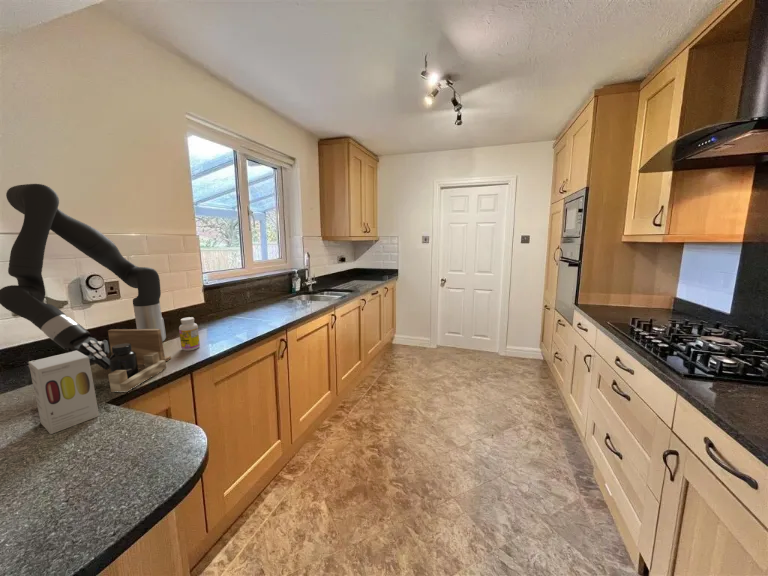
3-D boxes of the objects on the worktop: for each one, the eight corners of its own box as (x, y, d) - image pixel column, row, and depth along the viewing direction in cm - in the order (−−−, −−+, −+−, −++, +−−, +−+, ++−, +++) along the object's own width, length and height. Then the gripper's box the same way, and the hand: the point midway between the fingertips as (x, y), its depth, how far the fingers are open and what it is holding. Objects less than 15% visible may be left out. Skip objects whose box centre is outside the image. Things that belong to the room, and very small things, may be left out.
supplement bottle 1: (124, 386, 99) (118, 350, 97) (107, 384, 100) (101, 348, 98) (145, 376, 105) (139, 342, 103) (128, 374, 107) (122, 341, 105)
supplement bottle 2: (177, 349, 129) (173, 319, 126) (192, 344, 135) (189, 315, 132) (189, 352, 126) (185, 321, 124) (203, 346, 132) (200, 317, 130)
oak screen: (124, 359, 120) (118, 326, 117) (171, 358, 120) (166, 326, 117) (113, 364, 115) (107, 330, 112) (161, 364, 115) (156, 330, 112)
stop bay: (152, 368, 111) (149, 352, 110) (166, 368, 111) (163, 352, 110) (111, 392, 95) (108, 374, 94) (127, 392, 95) (124, 374, 94)
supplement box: (49, 435, 75) (35, 370, 72) (39, 423, 80) (25, 361, 77) (101, 415, 83) (89, 355, 80) (88, 405, 88) (77, 349, 85)
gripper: (51, 330, 93) (99, 368, 95) (91, 318, 106) (133, 352, 108) (37, 347, 94) (85, 384, 96) (79, 333, 107) (120, 366, 109)
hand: (110, 367), depth 102 cm, fingers closed
